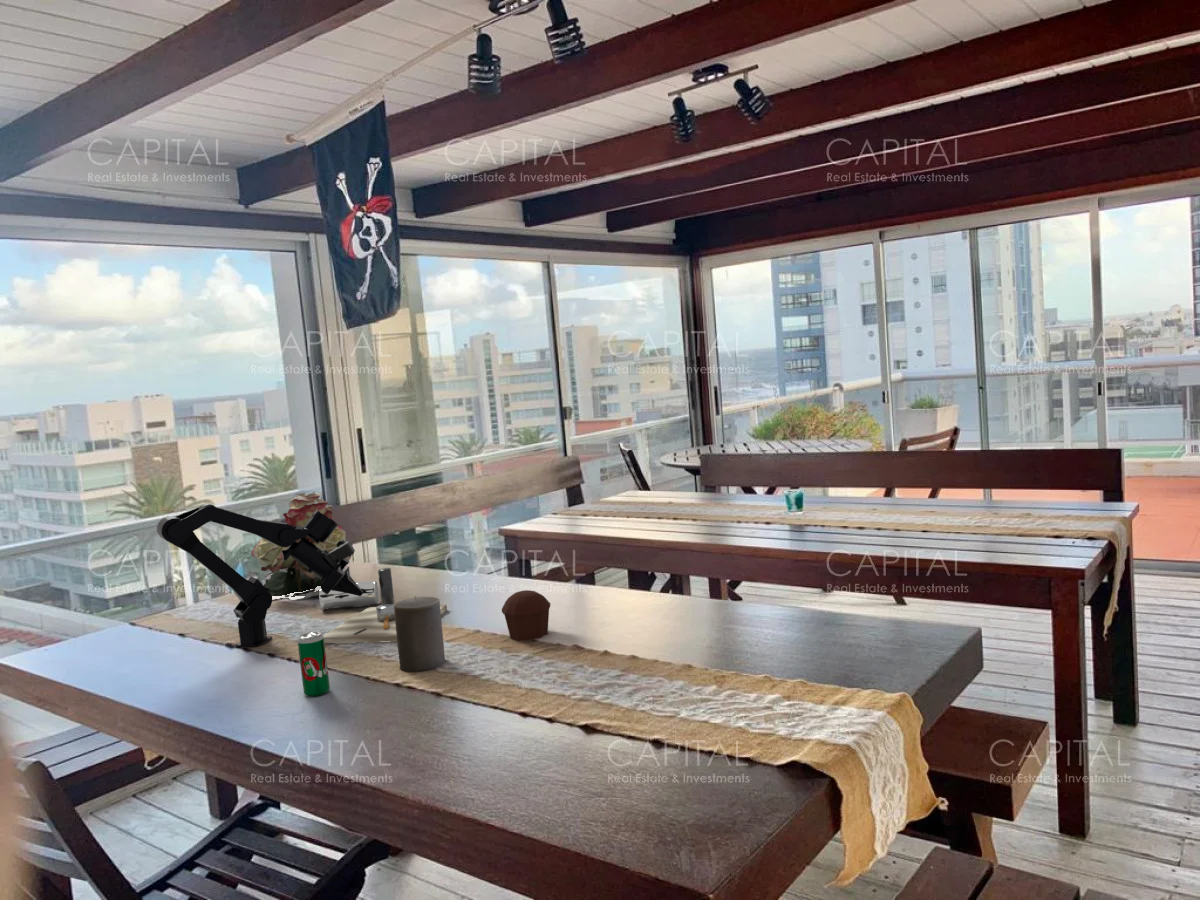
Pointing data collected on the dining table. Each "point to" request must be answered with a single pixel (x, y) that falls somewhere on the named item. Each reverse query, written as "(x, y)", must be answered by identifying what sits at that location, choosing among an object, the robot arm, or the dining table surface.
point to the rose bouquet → (297, 516)
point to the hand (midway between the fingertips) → (362, 594)
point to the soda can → (313, 664)
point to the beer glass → (351, 596)
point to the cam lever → (386, 597)
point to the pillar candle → (419, 634)
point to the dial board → (365, 629)
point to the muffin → (526, 615)
